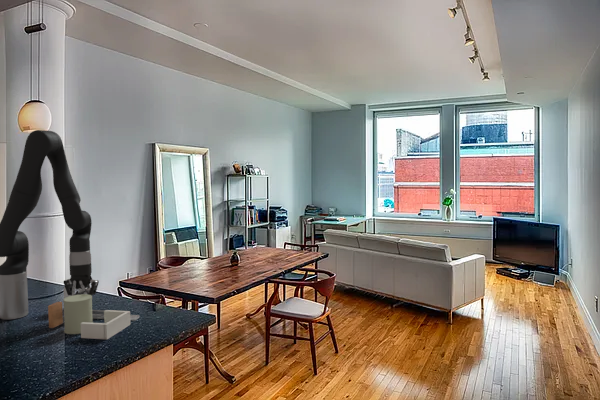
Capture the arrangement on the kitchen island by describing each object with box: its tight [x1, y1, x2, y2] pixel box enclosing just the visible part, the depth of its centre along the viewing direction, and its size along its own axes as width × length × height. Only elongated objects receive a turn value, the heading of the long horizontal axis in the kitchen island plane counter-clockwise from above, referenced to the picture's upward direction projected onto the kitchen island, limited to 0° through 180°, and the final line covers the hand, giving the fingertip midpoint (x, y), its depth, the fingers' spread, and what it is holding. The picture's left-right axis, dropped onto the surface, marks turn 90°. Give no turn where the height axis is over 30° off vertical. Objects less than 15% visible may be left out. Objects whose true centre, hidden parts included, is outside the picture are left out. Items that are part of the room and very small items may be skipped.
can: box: [62, 294, 94, 335], centre depth 152 cm, size 9×9×12 cm
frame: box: [80, 309, 131, 340], centre depth 150 cm, size 10×14×5 cm, turn 171°
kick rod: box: [47, 292, 106, 329], centre depth 158 cm, size 12×18×8 cm
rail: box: [92, 314, 140, 322], centre depth 164 cm, size 26×3×1 cm, turn 81°
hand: (82, 305), depth 166 cm, fingers closed on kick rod, 4 cm apart
